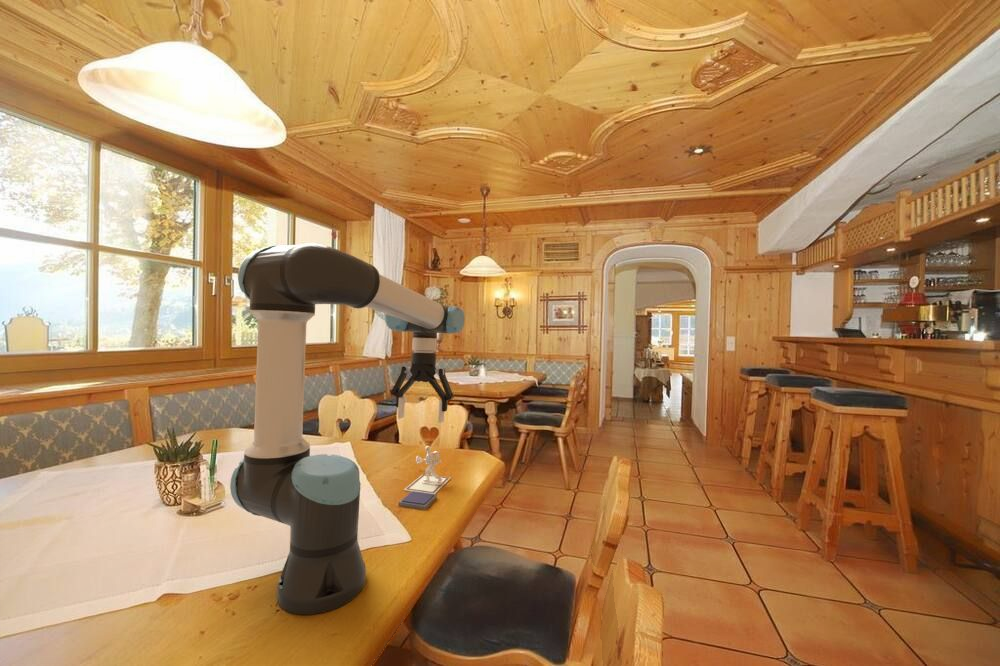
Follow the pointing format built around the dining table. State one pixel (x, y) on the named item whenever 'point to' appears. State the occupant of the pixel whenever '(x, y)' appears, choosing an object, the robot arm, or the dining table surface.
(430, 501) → the ink pad
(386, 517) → the dining table surface
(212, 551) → the dining table surface
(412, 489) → the print sheet
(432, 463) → the figurine
